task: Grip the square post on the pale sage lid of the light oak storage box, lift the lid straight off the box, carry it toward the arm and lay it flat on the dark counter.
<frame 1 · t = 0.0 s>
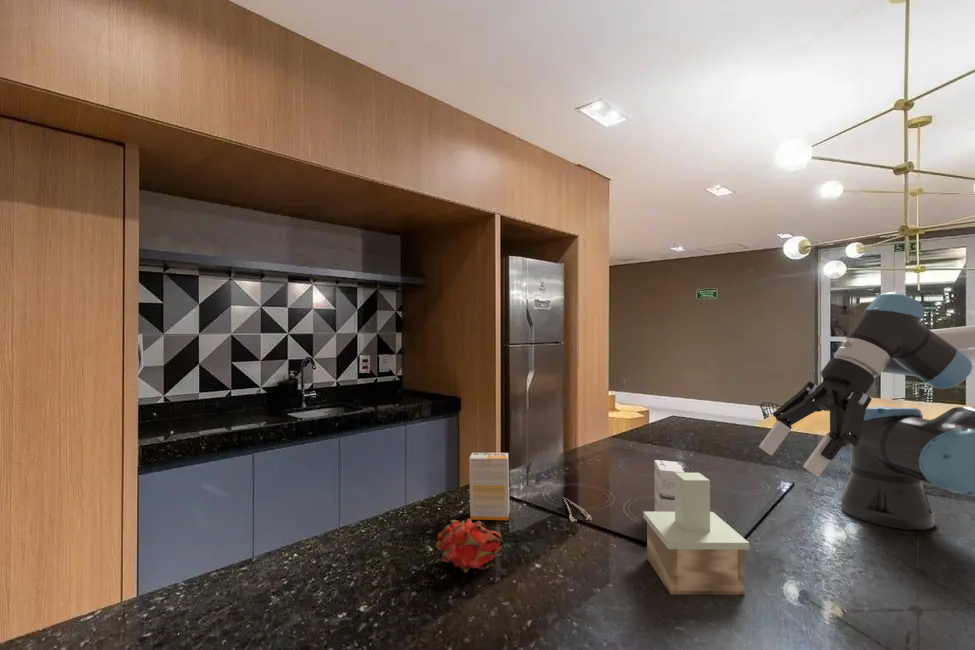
hand: (785, 460, 88), 15 cm above the countertop, tool tilted 35°, fingers open, 13 cm apart
supplement box: (489, 517, 101), on the countertop
lid: (692, 532, 77), point 7 cm above the countertop, touching storage box
ink box: (669, 523, 98), on the countertop
storage box: (692, 575, 77), on the countertop
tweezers: (570, 509, 107), on the countertop
dragon fruit: (470, 566, 80), on the countertop
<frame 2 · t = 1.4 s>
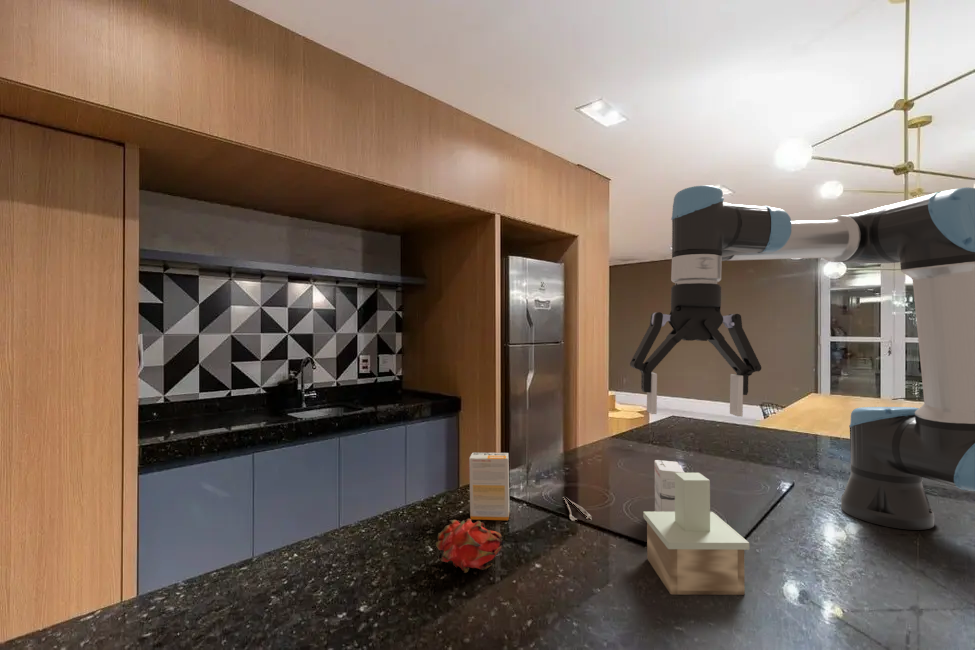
hand: (693, 414, 78), 26 cm above the countertop, tool pointing down, fingers open, 13 cm apart
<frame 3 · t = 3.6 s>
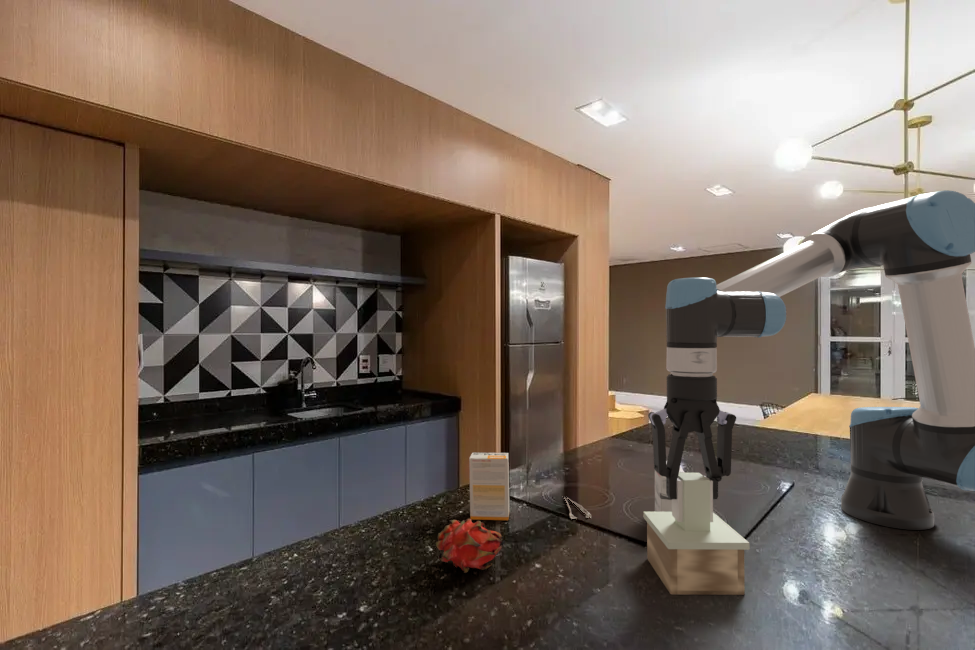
hand: (692, 518, 77), 9 cm above the countertop, tool pointing down, fingers closed on lid, 4 cm apart
lid: (692, 532, 77), point 7 cm above the countertop, touching gripper, storage box
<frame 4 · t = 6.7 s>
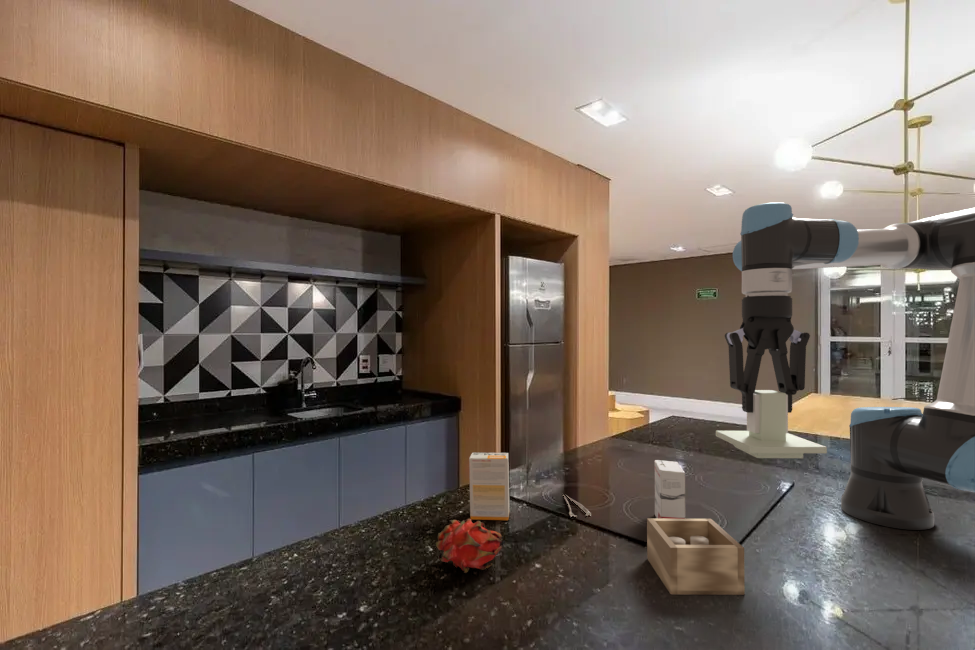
hand: (767, 431, 82), 22 cm above the countertop, tool pointing down, fingers closed on lid, 4 cm apart
lid: (767, 444, 82), point 20 cm above the countertop, touching gripper
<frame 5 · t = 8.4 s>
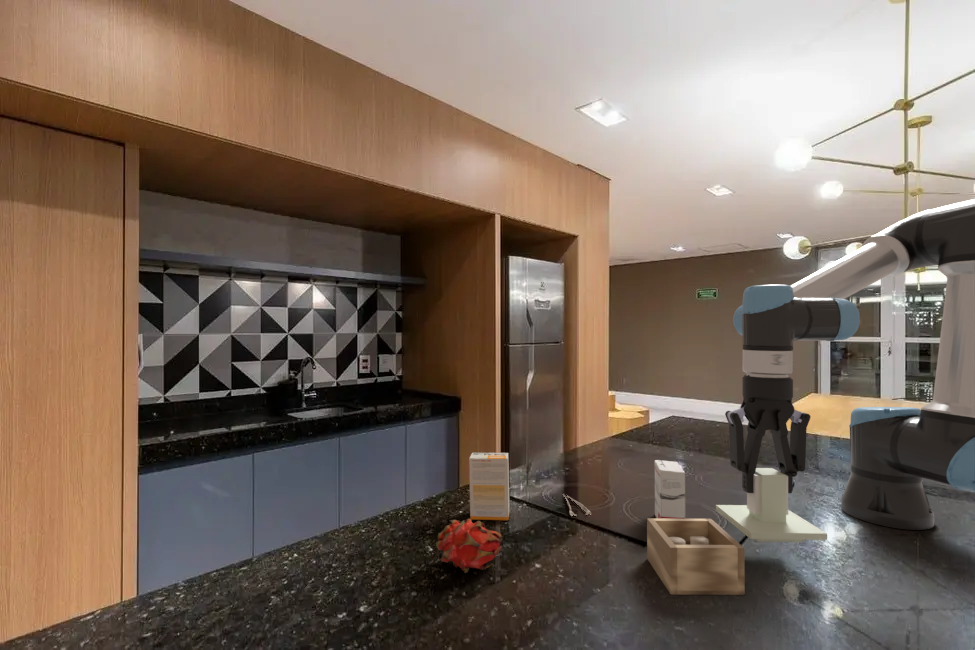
hand: (767, 511, 82), 9 cm above the countertop, tool pointing down, fingers closed on lid, 4 cm apart
lid: (767, 524, 82), point 6 cm above the countertop, touching gripper
when the fingers open (5 cm above the countertop, at t = 9.7 s): lid drops 2 cm, point 1 cm above the countertop.
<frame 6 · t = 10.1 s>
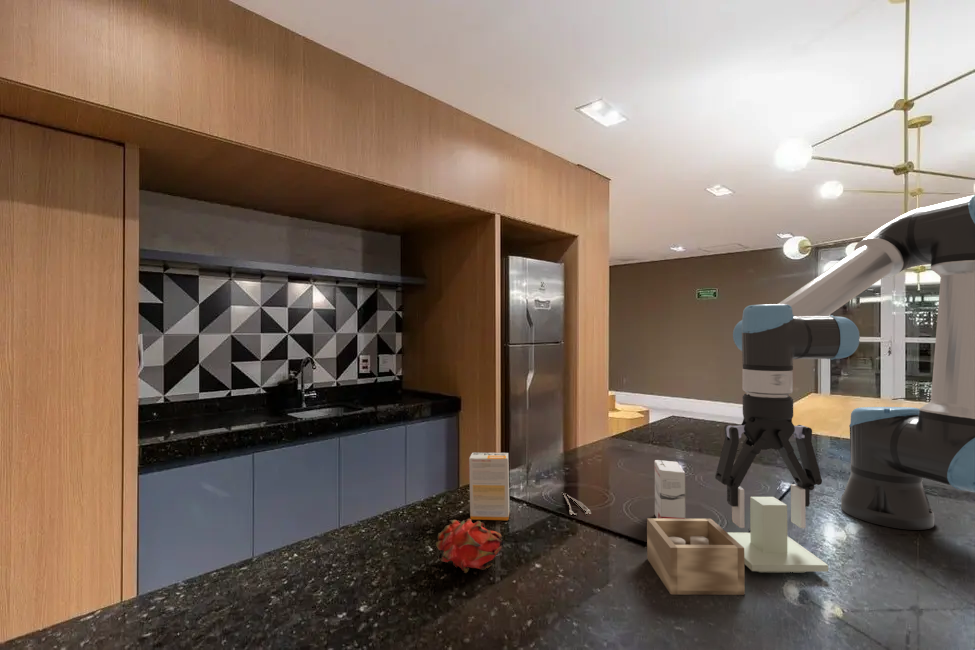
hand: (768, 524, 82), 6 cm above the countertop, tool pointing down, fingers open, 9 cm apart
lid: (768, 553, 82), point 1 cm above the countertop
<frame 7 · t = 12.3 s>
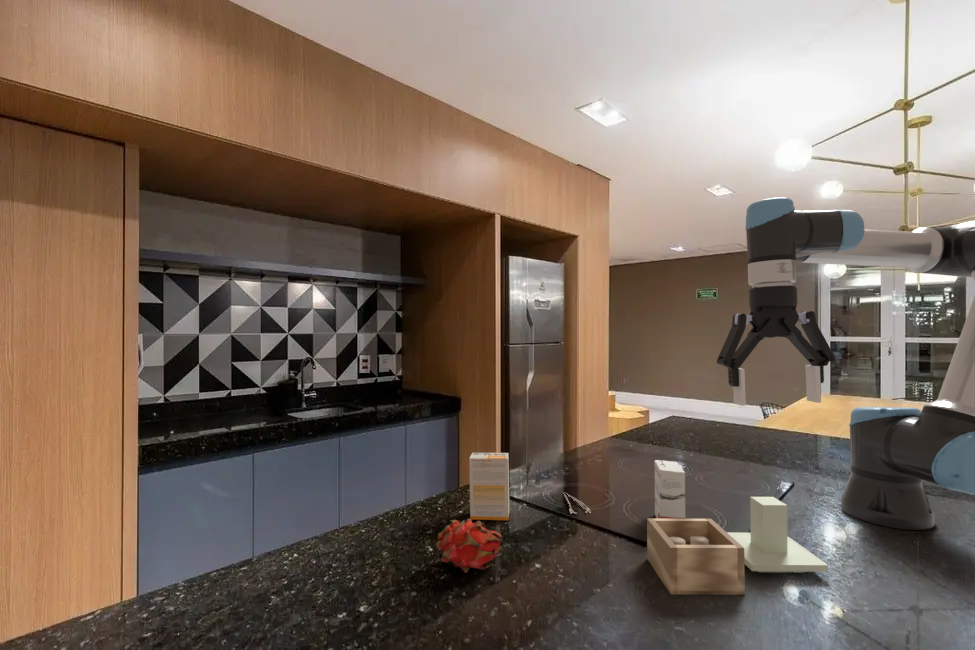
hand: (776, 403, 86), 26 cm above the countertop, tool pointing down, fingers open, 13 cm apart
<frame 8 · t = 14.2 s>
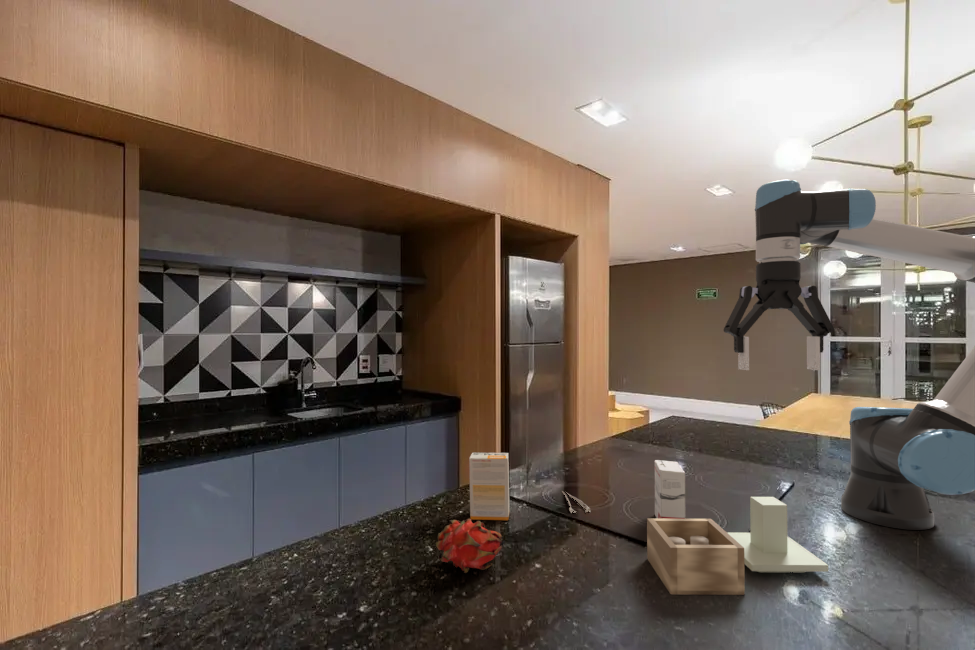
hand: (778, 369, 94), 32 cm above the countertop, tool pointing down, fingers open, 13 cm apart
at the end: lid inside the target area (0.0 cm from its centre), point 1.3 cm above the countertop; lid tilted 0°; lid touching countertop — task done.
